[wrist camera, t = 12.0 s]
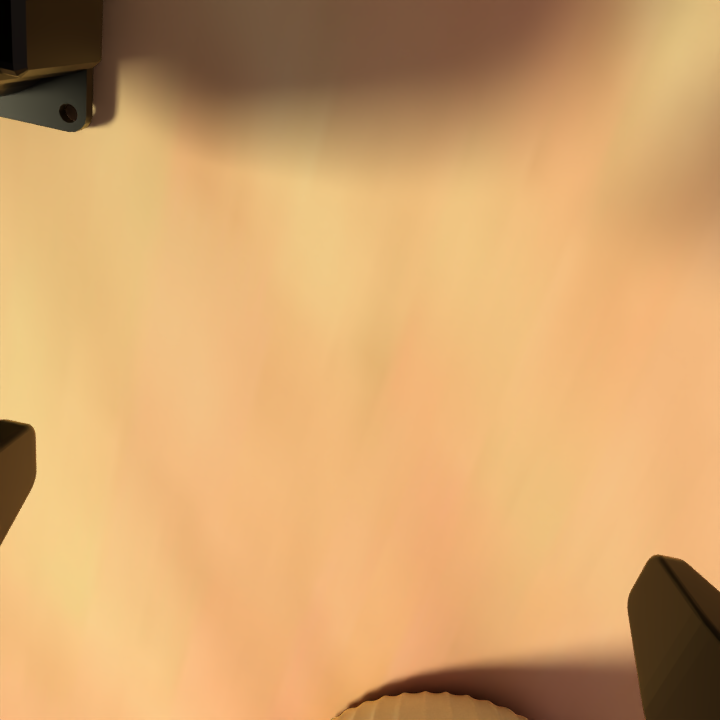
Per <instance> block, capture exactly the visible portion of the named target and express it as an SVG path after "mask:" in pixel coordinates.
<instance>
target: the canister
mask: <svg viewBox="0 0 720 720" xmlns="http://www.w3.org/2000/svg"><path fill="white" fill-rule="evenodd" d="M331 720H528V719H527V718H525V717H523V716H521V715H516V714H515V713H514V712H513V711H512V710H510V709H509V708H507V707H500V706H497V705H494V704H493V703H492V702H490V701H488V700H477V699H474V698H472V697H471V696H469V695H453V694H450V693H448V692H443V693H430V692H427V691H424V692H421V693H416V694H412V693H406V692H404V693H402V694H400V695H398V696H383V697H381V698H380V699H378V700H375V701H365V702H363V703H362V704H361V705H359V706H358V707H356V708H349V709H347V710H345V711H344V712H343V713H342V714H341V715H340V716H338V717H335V718H332V719H331Z"/></svg>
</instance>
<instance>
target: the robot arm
mask: <svg viewBox="0 0 720 720" xmlns="http://www.w3.org/2000/svg"><path fill="white" fill-rule="evenodd" d="M102 16H103V0H0V117H5V118H9V119H14V120H18V121H23V122H27V123H31V124H36V125H40V126H45V127H49V128H54V129H58V130H62V131H67V132H76V131H79V130H82V129H84V128H86V127H88V125H89V124H90V123H91V119H92V103H93V67H94V66H95V65H97V64H98V63H99V62H100V61H101V58H102ZM67 104H70V105H72V106H73V107H74V108H75V109H76V111H77V115H78V116H77V119H76V121H73V120H71V119H70V118H69V117H68V116H67V113H66V106H67ZM35 478H36V435H35V430H34V428H33V427H32V426H31V425H30V424H26V423H21V422H16V421H12V420H5V419H3V420H0V546H1V544H2V542H3V540H4V538H5V536H6V535H7V533H8V531H9V529H10V527H11V525H12V524H13V522H14V520H15V518H16V516H17V515H18V513H19V511H20V509H21V507H22V505H23V504H24V502H25V500H26V498H27V496H28V494H29V493H30V491H31V489H32V487H33V484H34V481H35ZM627 608H628V616H629V623H630V629H631V636H632V642H633V649H634V655H635V662H636V669H637V675H638V682H639V688H640V695H641V700H642V705H643V711H644V715H645V719H646V720H720V592H719V591H718V590H717V589H716V588H715V587H714V586H713V585H711V584H710V583H709V582H708V581H707V580H706V579H705V578H703V577H702V576H701V575H700V574H699V573H698V572H697V571H695V570H694V569H693V568H692V567H691V566H690V565H689V564H687V563H686V562H685V561H683V560H681V559H678V558H673V557H668V556H663V555H654V556H652V557H651V558H649V560H648V561H647V563H646V565H645V566H644V568H643V570H642V572H641V574H640V575H639V577H638V579H637V581H636V583H635V584H634V586H633V588H632V590H631V592H630V594H629V597H628V607H627Z"/></svg>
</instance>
